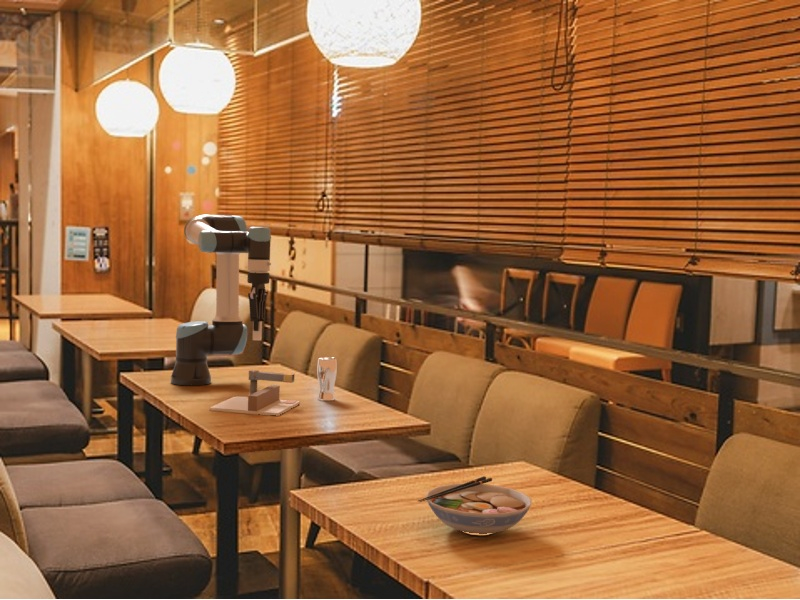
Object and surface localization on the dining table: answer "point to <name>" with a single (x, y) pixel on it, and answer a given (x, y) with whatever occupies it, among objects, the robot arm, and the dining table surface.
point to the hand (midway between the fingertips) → (257, 340)
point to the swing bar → (271, 376)
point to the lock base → (243, 406)
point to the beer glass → (326, 377)
